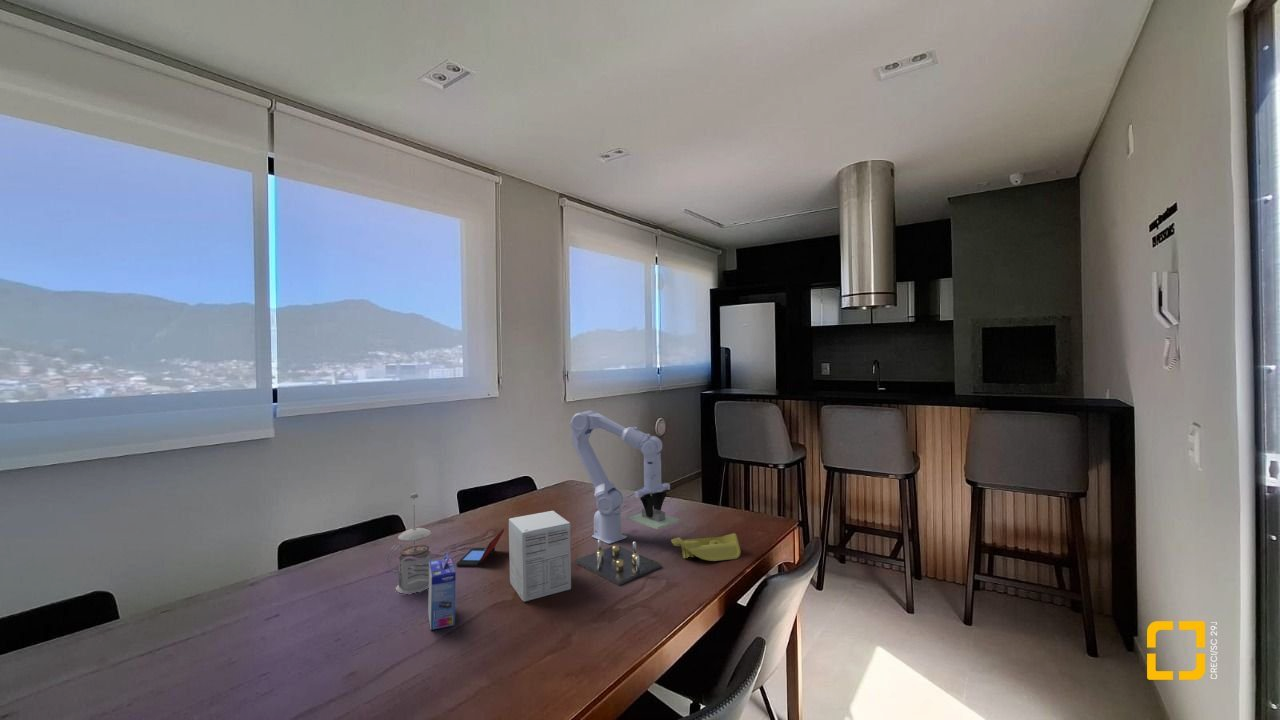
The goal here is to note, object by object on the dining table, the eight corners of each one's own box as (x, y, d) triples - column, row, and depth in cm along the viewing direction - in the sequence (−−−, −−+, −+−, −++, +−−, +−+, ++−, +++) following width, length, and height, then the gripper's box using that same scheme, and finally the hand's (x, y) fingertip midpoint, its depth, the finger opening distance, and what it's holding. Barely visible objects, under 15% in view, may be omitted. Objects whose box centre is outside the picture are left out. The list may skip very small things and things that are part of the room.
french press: (441, 584, 127) (440, 492, 128) (395, 601, 119) (394, 502, 119) (426, 574, 134) (424, 486, 134) (382, 588, 126) (380, 495, 126)
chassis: (575, 563, 140) (575, 546, 140) (616, 548, 151) (616, 532, 151) (619, 585, 125) (618, 566, 125) (661, 567, 136) (661, 549, 136)
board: (627, 519, 157) (627, 509, 157) (649, 512, 163) (649, 502, 163) (657, 529, 146) (657, 518, 146) (679, 521, 153) (679, 511, 153)
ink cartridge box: (457, 625, 107) (456, 561, 107) (430, 632, 105) (429, 566, 105) (452, 606, 116) (451, 547, 116) (428, 611, 114) (427, 551, 114)
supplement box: (572, 589, 124) (571, 522, 124) (523, 603, 117) (522, 532, 117) (554, 570, 135) (553, 509, 135) (508, 582, 128) (507, 518, 128)
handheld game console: (472, 551, 151) (472, 528, 151) (505, 551, 150) (505, 528, 150) (454, 568, 139) (454, 542, 139) (490, 568, 138) (490, 543, 138)
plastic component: (721, 536, 153) (737, 532, 145) (726, 561, 150) (742, 558, 142) (666, 541, 146) (679, 536, 138) (669, 567, 143) (683, 564, 135)
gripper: (644, 480, 147) (645, 523, 147) (676, 472, 157) (677, 513, 157) (629, 476, 152) (630, 518, 152) (661, 469, 162) (662, 508, 162)
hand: (653, 515), depth 155 cm, fingers closed on board, 3 cm apart
